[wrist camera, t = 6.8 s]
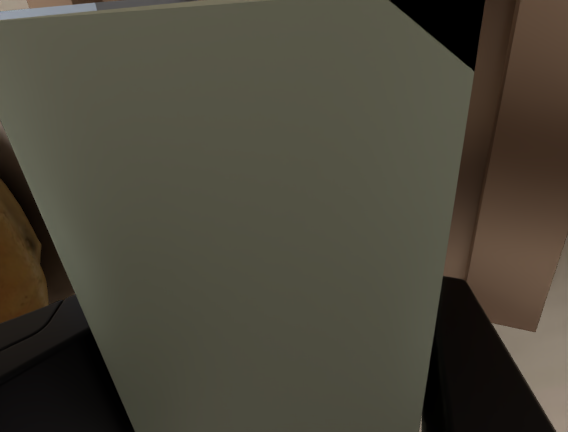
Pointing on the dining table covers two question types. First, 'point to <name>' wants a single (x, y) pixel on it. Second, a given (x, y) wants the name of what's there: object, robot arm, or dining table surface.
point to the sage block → (250, 198)
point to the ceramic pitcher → (18, 261)
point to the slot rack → (508, 160)
